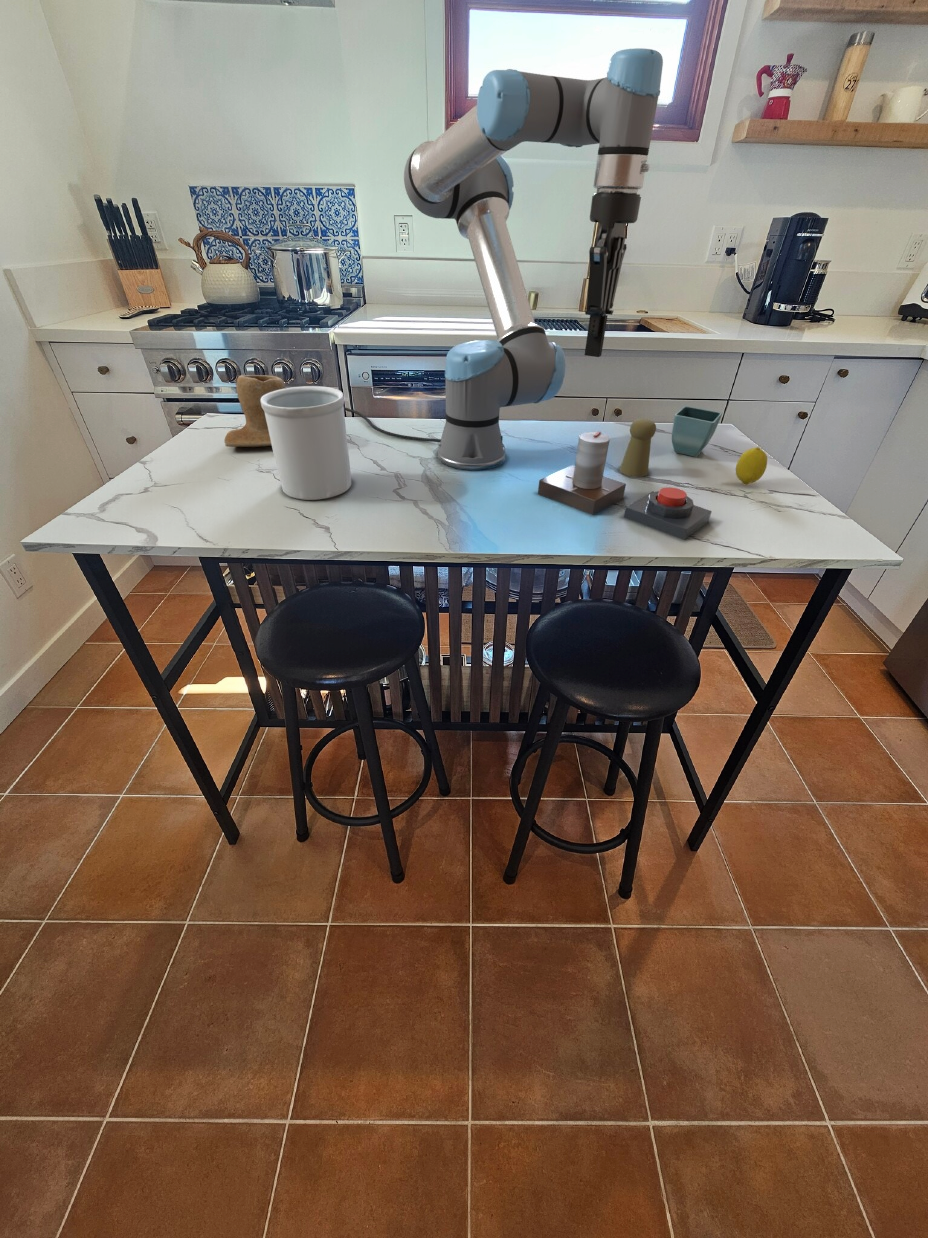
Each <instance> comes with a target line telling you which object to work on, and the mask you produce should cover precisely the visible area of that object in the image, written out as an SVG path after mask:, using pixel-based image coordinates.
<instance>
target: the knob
mask: <svg viewBox="0 0 928 1238" xmlns="http://www.w3.org/2000/svg"><path fill="white" fill-rule="evenodd" d="M610 440H611V438H610V436H608V435H607V434H605V433H602V432H601V431H599V430H598V431H596V432H595V431H591V432H589V431H587V432H583V433H581V434H579V436H578V442H577V448H576V455H575V462H574V466H575V468H574V475H573V484H574V485H575V486H577V487H580V488H584V489H596V488H599V487H600V486H601V485H602V479H603V476H604V475H605V473H604V472H605V468H606V462H607V457H608V451H609V446H610Z"/></svg>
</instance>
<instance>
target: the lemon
mask: <svg viewBox="0 0 928 1238" xmlns="http://www.w3.org/2000/svg"><path fill="white" fill-rule="evenodd" d="M767 467H768V455H767V454H766V453H765V450H763V449H761V448H760V446H756V447H752V448H749V449H747V450H746V451H744V452H743V453H742V454H741V455H740V457H739V459H738V460H737V463H736V466H735V475H736V478H737V479H738V481H740V482H741V483H742V484H743V485H744V486H746V485H748V484H752V483H755V482H757V481H759V480H760V479H761V478H762V477H763V476H764V475H765V472H766V470H767Z"/></svg>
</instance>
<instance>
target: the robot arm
mask: <svg viewBox="0 0 928 1238" xmlns="http://www.w3.org/2000/svg"><path fill="white" fill-rule="evenodd" d="M663 66H664V59H663V55H662V54H661V52H660V51H658V50H656V49H653V48H652V49H651V48H644V47H643V48H642V47H641V48H639V47H636V48H626V49H620V50H618V51H616V52H615V53H613V54H612V55H611V57H610V59H609V64H608V68H607V72H606V77H602V78H596V79H579V78H573V77H563V76H555V75H547V74H540V73H534V72H527V71H520V70H517V69H514V68H513V69H512V68H507V69H492V70H491V71H489V72H488V73H486V75H485V76H484V78H483V80H482V85H481V86H480V87H479V90H478V93H477V94H478V95H477V100H476V104H475V106H473V107H472V108H471V109H470V110H469V111H467V112H466V113H465V114H464V115H463V116H461V118H459V119H458V120H457V121H456V122H454V123H453V124H452V125H451V126H450V127H448V128H447V129H446V130H445V131H444V132H443V133H442V134H440V136H438V137H437V138H436V139H435V140H427V141H423V142H422V143H420V144H419V145H418V146H417V147H416V148H415V149H414V150H413V151H412V152H411V153H410V154H409V156H408V158H407V159H406V162H405V166H404V171H403V183H404V190H405V192H406V195H407V197H408V199H409V201H410V202H411V203H412V205H413V206H414V207H415V208H416V209H417V211H419V212H420V213H421V214H423V215H425V216H427V217H430V218H433V219H445V220H455V222H456V226H457V229H458V233H459V234H460V235H461V237H463V238H465V239H466V240H468V242H469V245H470V248H471V252H472V256H473V259H474V263H475V266H476V270H477V273H478V276H479V279H480V284H481V286H482V290H483V293H484V297H485V300H486V303H487V307H488V311H489V314H490V317H491V321H492V324H493V327H494V331H495V335H496V337H497V340H492V339H483V340H471V341H465V342H462V343H459V344H457V345H454V346H453V347H451V348H450V350H448V352H447V353H446V358H445V369H444V377H445V378H444V381H445V424H444V427H443V429H442V430H443V431H442V434H441V436H440V437H441V438H429V437H419V436H411V435H405V434H404V435H403V434H399V433H396V432H390V431H388V430H385V429H383V428H380V427H378V426H376V425H375V424H373V422H372V421H371V419H369V418H368V417H367V416H366V415H364V414H363V413H361V412H359V411H357V410H354V409H351V408H348V407H346V406H343V407H344V411H346V412H349V413H352V414H356V415H357V416H359V417H361V418H362V419H363V420H365V421H366V422H367V423H368V425H369V426H370V427H371V428H372V429H374V430H375V431H377V432H379V433H381V434H385V435H387V436H391V437H394V438H400V439H405V440H412V441H419V442H431V443H438V446H437V459H438V461H439V462H440V463H442V464H443V465H445V466H448V467H450V468H454V469H459V470H466V471H481V470H489V469H492V468H495V467H498V466H499V465H501V464H503V463H504V462H505V460H506V448H505V444H504V443H503V440H504V439H503V438H504V436H503V435H502V432H501V427H500V411H501V410H500V409H501V408H506V407H515V406H521V405H527V404H539V403H541V402H546V401H549V400H552V399H554V397H556V395H557V394H558V393H559V392H560V390H561V388H562V386H563V384H564V378H565V375H566V368H567V367H566V366H567V365H566V356H565V353H564V350H563V348H562V347H561V345H559V344H558V343H557V342H553V341H552V342H551V341H550V342H549V340H548V337H547V333H546V330H545V328H544V327H543V326H541V325H539V324H536V321H535V318H534V315H533V310H532V308H531V304H530V301H529V298H528V297H529V296H528V294H527V291H526V287H525V283H524V280H523V277H522V274H521V270H520V266H519V263H518V260H517V255H516V252H515V249H514V246H513V241H512V239H511V235H510V232H509V229H508V228H509V227H508V224H507V221H508V219H509V216H510V210H511V209H512V206H513V202H514V195H515V191H513V188H514V185H515V184H514V177H513V173H512V170H511V167H510V164H509V163H508V161H507V160H506V159H505V158H504V156H503V154H505V153H506V152H508V151H510V150H512V149H513V148H515V147H517V146H518V145H520V144H522V143H524V142H525V143H526V142H528V143H529V142H531V143H548V144H557V145H558V144H559V145H561V146H564V147H568V148H582V147H583V146H591V145H596V144H597V145H598V150H597V156H596V163H595V170H594V178H593V188H594V189H596V192H595V193H593V195H592V197H591V204H590V212H589V220H590V222H592V223H599V227H598V231H597V235H596V237H595V239H594V245H593V246H590V247H589V251H588V254H589V267H588V269H589V270H588V273H589V274H588V282H587V283H588V286H587V297H586V298H587V299H586V310H585V311H584V314H585V315H586V316H589V320H588V326H587V327H588V328H587V333H586V334H587V336H586V342H585V348H584V349H585V350H584V356H587V357H594V358H595V357H596V358H600V357H602V352H603V348H604V341H605V334H606V328H607V323H608V322H607V321H608V315H611V316H612V315H613V314H614V310H612V309H613V307H614V302H615V299H616V293H617V288H618V285H619V284H618V283H619V279H620V275H621V269H622V265H623V262H624V257H625V254H626V252H627V248H628V247H627V243H625V242H626V237H625V236H624V235H625V224H635V223H636V222H637V221H638V219H639V218H638V217H639V212H640V207H641V206H640V205H641V199H642V196H641V194H640V193H638V192H639V190H641V189H642V188H643V187H644V180H645V173H648V172H649V171H650V164H649V163H647V162H648V156H649V152H650V146H651V141H652V136H653V130H654V124H655V118H656V113H657V107H658V101H659V96H660V95H661V82H662V74H663Z"/></svg>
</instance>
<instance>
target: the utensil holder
mask: <svg viewBox="0 0 928 1238" xmlns="http://www.w3.org/2000/svg"><path fill="white" fill-rule="evenodd" d="M285 388H286V387H285ZM260 401H261V406H262V408H263V410H264V412H265V417H266V421H267V426H268V430H269V435H270V439H271V444H272V446H271V448H272V452H273V458H274V463H275V466H276V470H277V474H278V477H279V482H280V485H281V490H282V491H283V493H284V494H285V495H286V496H288V497H291V498H293V499H298V500H305V501H314V500H315V501H317V500H323V499H324V500H325V499H331V498H334V497H336V496H339V495H341V494H343V493H345V492H347V491H348V490H349V489H350V488H351V486H352V475H351V474H352V473H351V462H350V453H349V445H348V437H347V425H346V416H345V410H344V407H345V406H344V404H345V395H344V393H343V392H342V390H340V389H337V388H333V387H329V386H321V385H320V386H319V385H303V386H293V387H287V388H286V389H280V390H276V391H273V392H270V393H267V394H265V395H263V396H262V397H261V400H260Z"/></svg>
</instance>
